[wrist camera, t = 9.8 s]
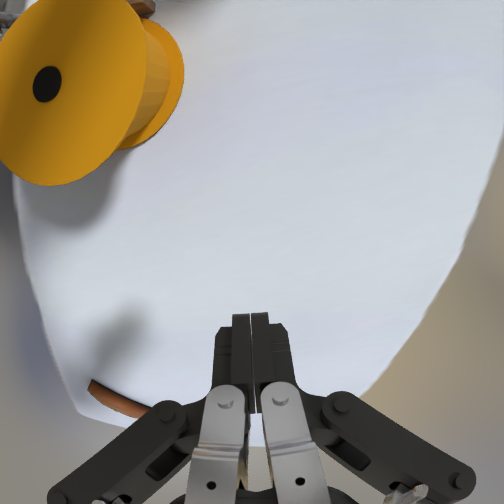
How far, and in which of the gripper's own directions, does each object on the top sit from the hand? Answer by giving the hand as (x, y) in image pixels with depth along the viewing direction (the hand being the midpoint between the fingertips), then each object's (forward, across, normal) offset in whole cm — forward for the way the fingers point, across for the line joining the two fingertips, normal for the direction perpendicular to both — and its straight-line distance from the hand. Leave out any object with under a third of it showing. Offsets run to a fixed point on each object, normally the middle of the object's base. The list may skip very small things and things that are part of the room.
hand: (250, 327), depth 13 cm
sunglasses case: (+27, +36, +53) cm, 69 cm away
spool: (+27, +15, -13) cm, 34 cm away
